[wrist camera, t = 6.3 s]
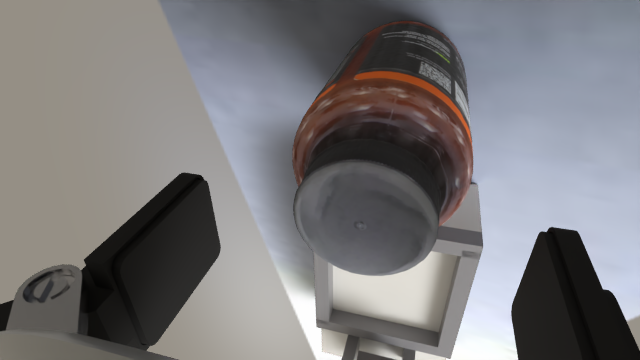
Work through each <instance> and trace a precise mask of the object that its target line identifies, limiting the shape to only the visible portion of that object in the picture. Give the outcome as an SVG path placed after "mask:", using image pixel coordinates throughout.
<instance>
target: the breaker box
mask: <svg viewBox="0 0 640 360" xmlns="http://www.w3.org/2000/svg"><path fill="white" fill-rule="evenodd" d="M482 249H483V239H482V227H481V215H480V204H479V192H478V185H475V184H470V187H469V190H468V192H467V195H466V197H465V199H464V200H463V202H462V204H461V206H460V207H459V208H458V209H457V211H456V212H455V213H454V214H453V215H452V217H451V218H450V219H448V220H447V221H446V222H445V223H444V224H443V225H441V226H439V229H438V237H437V239H436V242H435V244H434V246H433V248H432V250H431V252H430V253H429V254H428V256H427V257H426V258H425V259H424V260H423V261H421V262H420V263H419V264H417V265H416V266H414V267H412V268H411V269H409V270H407V271H404V272H400V273H397V274H393V275H385V276H367V275H360V274H355V273H350V272H348V271H345V270H343V269H340V268H338V267H336V266H333V265H332V264H331V263H328V262H326V261H325V260H324V259H322V258H321V257H320V256H318V255H317V254H316V253H315V252H314V251H313V254H314V278H315V301H316V324H317V327H318V328H322V352H325V353H329V354H333V355H337V356H341V357H342V360H357V356H358V351H363V352H367V353H371V354H375V355H379V356H383V357H388V358H392V359H396V360H446V358H448V359H450V358H451V355H452V351H453V348H454V345H455V341H456V338H457V334H458V331H459V328H460V324H461V321H462V317H463V314H464V311H465V307H466V304H467V300H468V297H469V293H470V290H471V287H472V283H473V280H474V276H475V273H476V270H477V266H478V263H479V259H480V256H481V253H482Z"/></svg>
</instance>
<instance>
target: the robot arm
mask: <svg viewBox="0 0 640 360" xmlns="http://www.w3.org/2000/svg"><path fill="white" fill-rule="evenodd" d="M220 248H221V247H220V241H219V236H218V231H217V226H216V221H215V216H214V212H213V206H212V201H211V196H210V191H209V186H208V183H207V181H205V180H204V179H203V177H202V176H201V175H197V174H190V173H181V174H179V175H178V176H177V177H176V178H175V179H174V180H173V181H172V182H170V183H169V184H168V185H167V186H166V187H165V188H164V189H163V190H161V191H160V192H159V193H158V194H157V195H156V196H155V197H154V198H153V199H151V200H150V201H149V202H148V203H147V204H146V205H145V206H144V207H142V208H141V209H140V210H139V211H138V212H137V213H136V214H135V215H134V216H132V217H131V218H130V219H129V220H128V221H127V222H126V223H125V224H123V225H122V226H121V227H120V228H119V229H118V230H117V231H116V232H114V233H113V234H112V235H111V236H110V237H109V238H108V239H107V240H106V241H104V242H103V243H102V244H101V245H100V246H99V247H98V248H97V249H95V250H94V251H93V252H92V253H91V254H90V255H89V256H88V257H86V258H85V259H84V261H85V264H86V266H85V267H84V268H83V269H82V270H80V269H79V268H78V267H76V266H73V265H64V264H62V265H57V266H52V267H50V268H46V269H44V270H42V271H40V272H38V273H36V274H34V275H32V276H31V277H30V278H28V279H27V280H26V281H25V282H24V283H23V284H22V285H21V286H20V287H19V288H18V290H17V293H16V295H15V298H14V300H12V301H9V302H6V303H3V304H0V360H178V359H174V358H170V357H167V356H163V355H159V354H155V353H152V352H148V351H147V349H148V348H149V346H152V345H154V344H156V343H157V342H158V340H159V339H160V337H161V336H162V335H163V333H164V332H165V331H166V329H167V328H168V326H169V325H170V324H171V322H172V321H173V319H174V318H175V317H176V315H177V314H178V312H179V311H180V309H181V308H182V307H183V305H184V304H185V302H186V301H187V300H188V298H189V297H190V295H191V294H192V293H193V291H194V290H195V289H196V287H197V286H198V284H199V283H200V282H201V280H202V279H203V277H204V276H205V275H206V273H207V272H208V270H209V269H210V267H211V266H212V265H213V263H214V262H215V261H216V259H217V258H218V256H219V253H220ZM511 315H512V323H513V329H514V335H515V341H516V348H517V354H518V360H640V351H639V348H638V346H637V344H636V342H635V339H634V337H633V335H632V333H631V331H630V328H629V326H628V324H627V322H626V320H625V317H624V315H623V313H622V311H621V309H620V306H619V304H618V302H617V300H616V298H615V296H614V295H613V293H611V292H610V291H609V290H603V289H602V286H601V284H600V282H599V279H598V277H597V275H596V272H595V270H594V268H593V265H592V263H591V261H590V258H589V256H588V253H587V251H586V249H585V246H584V244H583V242H582V239H581V237H580V235H579V233H578V232H577V231H574V230H567V229H561V228H554V227H551V228H549V229H548V231H547V232H540V233H539V234H538V237H537V239H536V242H535V245H534V247H533V250H532V253H531V255H530V258H529V261H528V263H527V266H526V269H525V271H524V274H523V277H522V279H521V282H520V285H519V288H518V290H517V293H516V296H515V298H514V301H513V304H512V311H511Z"/></svg>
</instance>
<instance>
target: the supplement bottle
mask: <svg viewBox="0 0 640 360" xmlns="http://www.w3.org/2000/svg"><path fill="white" fill-rule="evenodd" d="M292 157H293V160H292V162H293V168H294V174H295V178H296V181H297V184H298V189H297V191H296V195H295V199H294V209H293V211H294V218H295V222H296V226H297V229H298V231H299V232H300V234H301V236H302V238H303V240H304V241H305V242H306V243H307V245H308V246H309V248H310V249H311V250H313V251H314V252H315V253H316V254H317V255H318V256H320V257H321V258H322V259H324V260H325V261H326V262H328V263H331V264H332V265H333V266H336V267H338V268H340V269H343V270H345V271H348V272H350V273H355V274H360V275H367V276H385V275H393V274H397V273H400V272H404V271H407V270H409V269H411V268H412V267H414V266H416V265H417V264H419V263H420V262H421V261H423V260H424V259H425V258H426V257H427V256H428V254H429V253H430V252H431V250H432V248H433V246H434V244H435V242H436V239H437V237H438V229H439V226H441V225H443V224H444V223H445V222H446V221H447V220H448V219H450V218H451V217H452V215H453V214H454V213H455V212H456V211H457V209H458V208H459V207H460V206H461V204H462V202H463V200H464V199H465V197H466V195H467V192H468V190H469V187H470V184H471V178H472V174H473V151H472V137H471V126H470V116H469V106H468V94H467V82H466V75H465V69H464V65H463V62H462V59H461V57H460V54H459V53H458V50H457V48H456V47H455V46H454V44H453V43H452V42H451V41H450V40H449V39H448V38H447V37H446V36H445V35H444V34H443V33H441V32H439V31H438V30H436V29H435V28H433V27H431V26H428V25H425V24H422V23H419V22H413V21H399V22H393V23H389V24H385V25H382V26H380V27H378V28H376V29H374V30H372V31H370V32H368V33H367V34H366V35H364V36H363V37H362V38H361V39H360V40H359V41H358V42H357V43H356V44H355V45H354V46H353V47H352V49H351V50H350V52H349V53H348V54H347V56H346V57H345V59H344V60H343V61H342V63H341V64H340V66H339V67H338V69H337V70H336V71H335V73H334V74H333V75H332V77H331V78H330V80H329V81H328V82H327V84H326V85H325V87H324V88H323V89H322V91H321V92H320V93H319V95H318V96H317V97H316V99H315V101H314V102H313V103H312V105H311V106H310V108H309V109H308V111H307V112H306V114H305V116H304V117H303V119H302V121H301V123H300V126H299V128H298V130H297V133H296V136H295V140H294V145H293V153H292Z"/></svg>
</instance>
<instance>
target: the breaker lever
mask: <svg viewBox="0 0 640 360" xmlns="http://www.w3.org/2000/svg"><path fill="white" fill-rule="evenodd" d="M357 360H396V359H392V358H388V357H383V356H379V355H375V354H371V353H367V352H363V351H358V356H357Z"/></svg>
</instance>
